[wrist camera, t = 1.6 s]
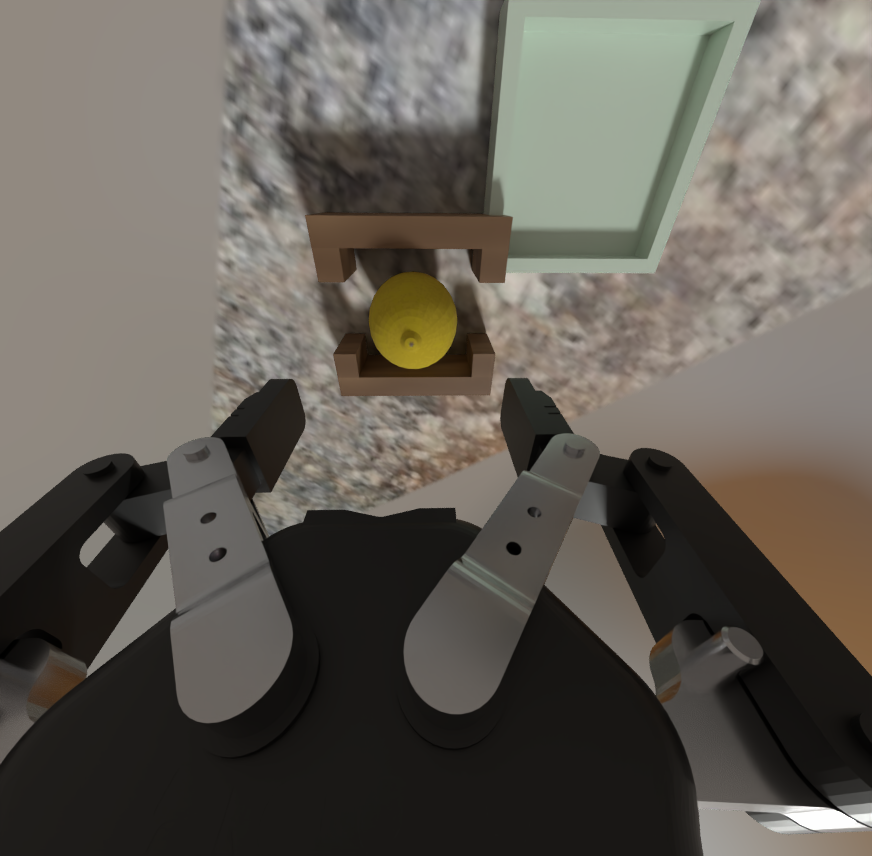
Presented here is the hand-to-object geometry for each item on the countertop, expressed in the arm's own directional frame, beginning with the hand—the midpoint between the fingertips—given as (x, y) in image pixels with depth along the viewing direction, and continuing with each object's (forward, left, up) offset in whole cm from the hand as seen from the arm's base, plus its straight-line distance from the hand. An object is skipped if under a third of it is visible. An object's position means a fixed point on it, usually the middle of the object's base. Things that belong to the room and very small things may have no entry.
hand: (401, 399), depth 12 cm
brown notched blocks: (0, 0, -14) cm, 14 cm away
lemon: (0, 0, -14) cm, 14 cm away
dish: (-8, +10, -14) cm, 19 cm away
